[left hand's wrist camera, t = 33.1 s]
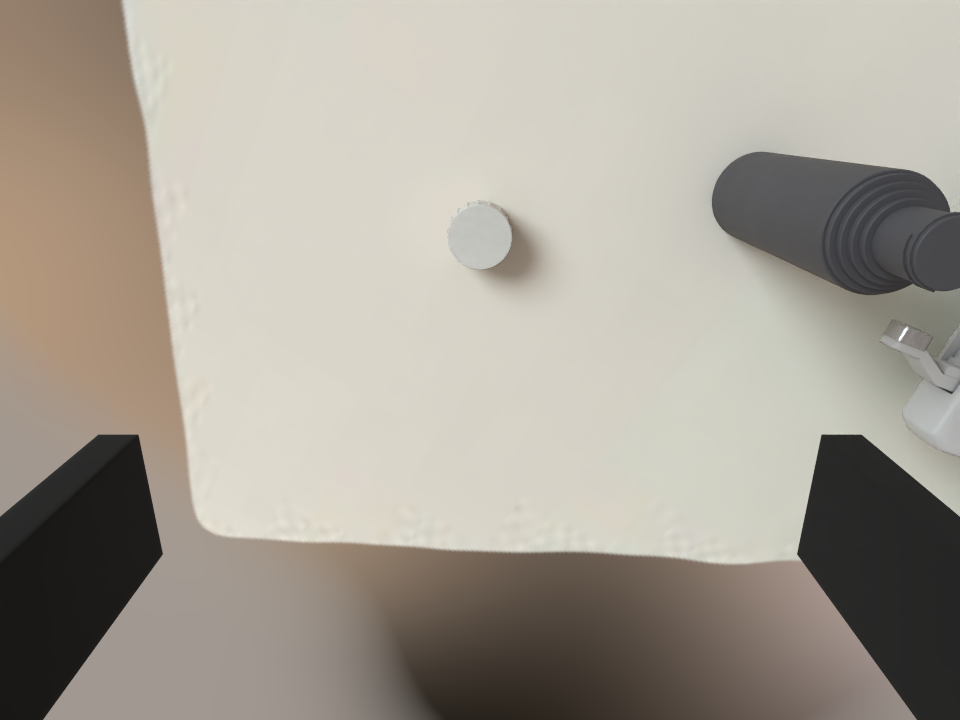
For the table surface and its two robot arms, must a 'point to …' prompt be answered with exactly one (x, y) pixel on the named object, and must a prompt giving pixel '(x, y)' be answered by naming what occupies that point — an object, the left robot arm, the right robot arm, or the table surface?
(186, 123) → the table surface
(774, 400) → the table surface
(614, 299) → the table surface
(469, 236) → the cap
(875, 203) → the bottle
